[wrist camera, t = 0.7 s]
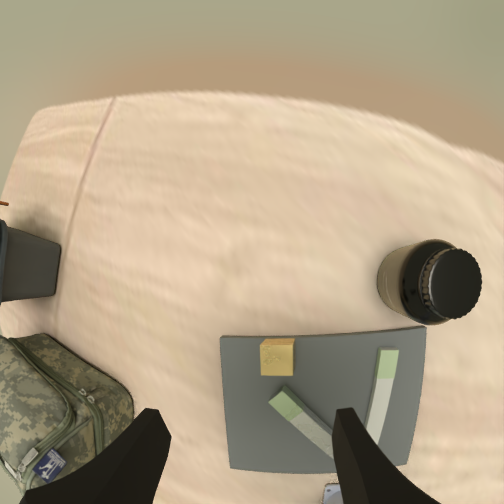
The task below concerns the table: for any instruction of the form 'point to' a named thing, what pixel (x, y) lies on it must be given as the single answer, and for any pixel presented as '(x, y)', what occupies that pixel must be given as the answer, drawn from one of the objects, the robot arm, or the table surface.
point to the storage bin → (26, 264)
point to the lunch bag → (54, 411)
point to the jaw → (302, 418)
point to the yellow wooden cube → (278, 357)
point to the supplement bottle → (430, 282)
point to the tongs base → (322, 396)
